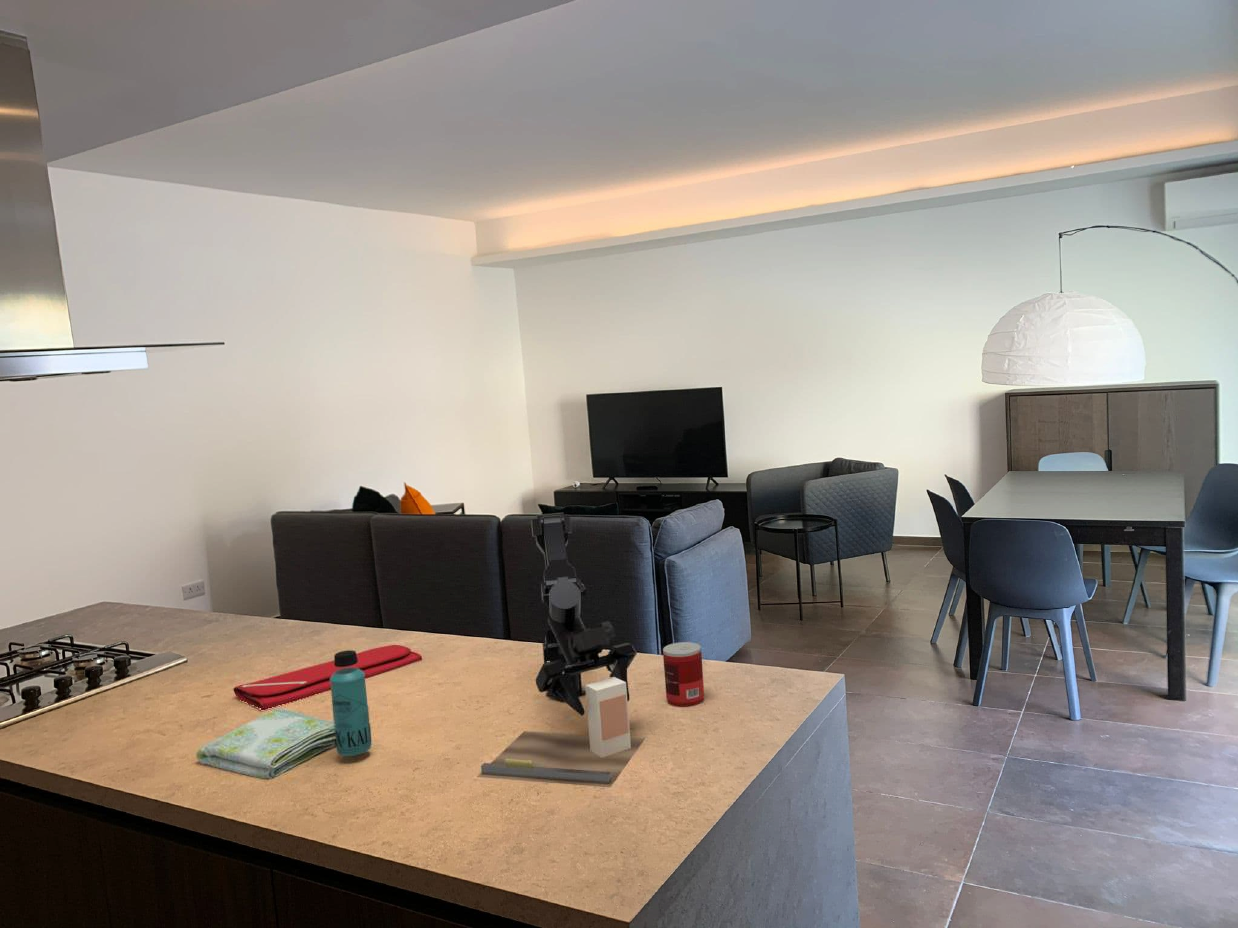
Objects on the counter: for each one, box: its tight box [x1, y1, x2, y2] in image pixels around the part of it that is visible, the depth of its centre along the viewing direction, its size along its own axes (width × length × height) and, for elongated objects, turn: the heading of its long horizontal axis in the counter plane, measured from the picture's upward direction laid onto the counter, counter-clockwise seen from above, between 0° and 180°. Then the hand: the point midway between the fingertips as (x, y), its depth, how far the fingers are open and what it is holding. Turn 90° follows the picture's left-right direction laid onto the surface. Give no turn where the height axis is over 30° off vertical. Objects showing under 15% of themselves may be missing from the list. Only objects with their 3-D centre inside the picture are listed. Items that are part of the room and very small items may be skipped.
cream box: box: [584, 677, 631, 758], centre depth 158 cm, size 4×6×12 cm
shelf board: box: [476, 730, 646, 788], centre depth 157 cm, size 20×24×1 cm
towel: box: [195, 708, 336, 780], centre depth 172 cm, size 18×21×5 cm
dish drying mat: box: [232, 644, 422, 711], centre depth 215 cm, size 16×41×4 cm, turn 136°
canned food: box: [662, 641, 705, 708], centre depth 183 cm, size 8×8×11 cm
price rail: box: [480, 759, 612, 784], centre depth 150 cm, size 2×23×2 cm, turn 72°
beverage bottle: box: [330, 650, 373, 757], centre depth 166 cm, size 6×7×20 cm
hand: (605, 707), depth 159 cm, fingers open, 9 cm apart
